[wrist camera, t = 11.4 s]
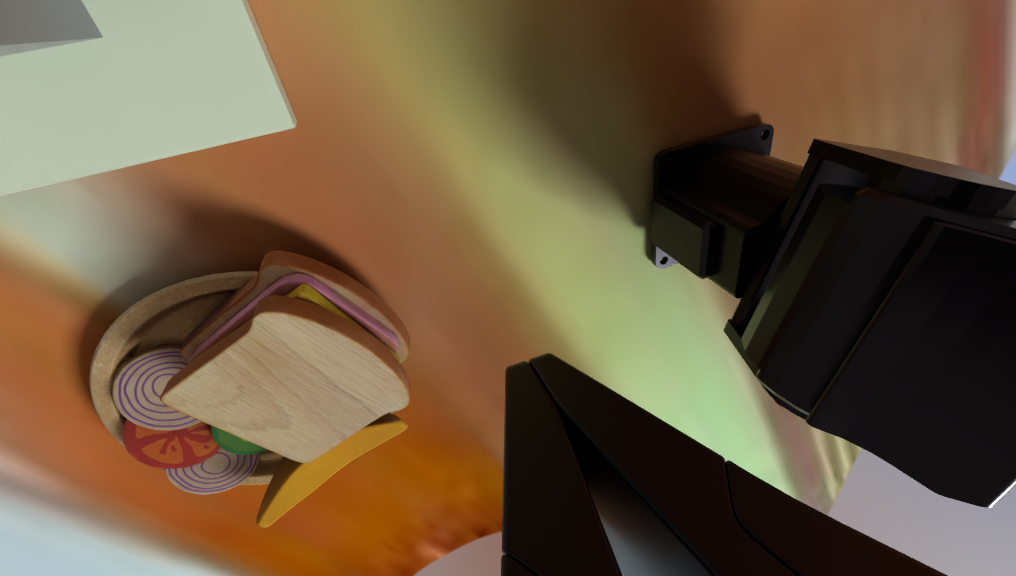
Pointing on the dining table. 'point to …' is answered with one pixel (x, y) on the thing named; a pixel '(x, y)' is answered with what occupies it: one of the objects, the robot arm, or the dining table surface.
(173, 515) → the dining table surface
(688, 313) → the dining table surface
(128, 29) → the base plate
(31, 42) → the grey rectangular block
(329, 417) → the toy sandwich meal
